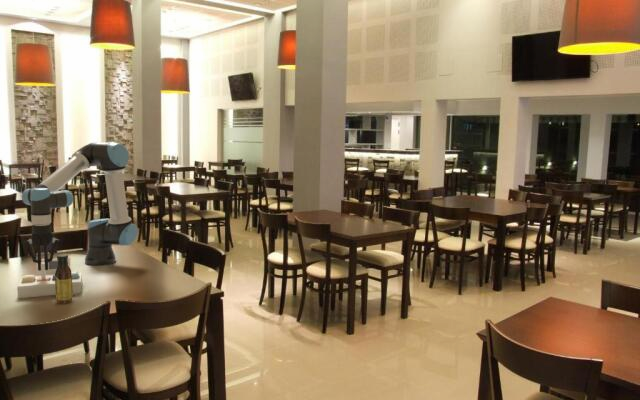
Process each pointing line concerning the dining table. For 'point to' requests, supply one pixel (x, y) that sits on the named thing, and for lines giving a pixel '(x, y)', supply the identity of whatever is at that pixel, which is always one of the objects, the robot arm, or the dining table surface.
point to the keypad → (44, 287)
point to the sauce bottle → (63, 280)
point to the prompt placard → (50, 267)
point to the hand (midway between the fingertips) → (43, 277)
